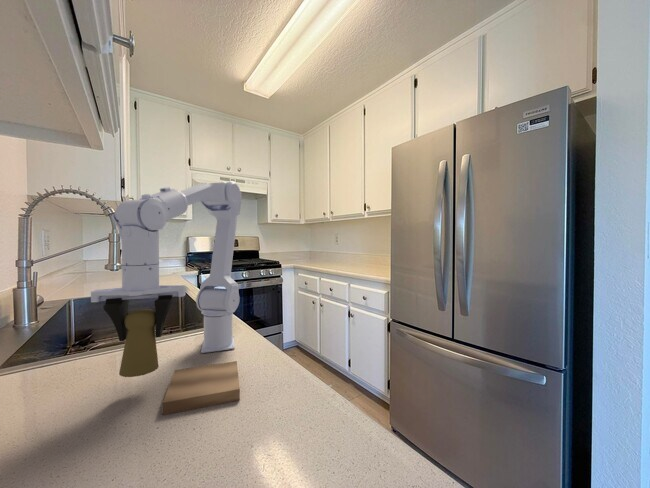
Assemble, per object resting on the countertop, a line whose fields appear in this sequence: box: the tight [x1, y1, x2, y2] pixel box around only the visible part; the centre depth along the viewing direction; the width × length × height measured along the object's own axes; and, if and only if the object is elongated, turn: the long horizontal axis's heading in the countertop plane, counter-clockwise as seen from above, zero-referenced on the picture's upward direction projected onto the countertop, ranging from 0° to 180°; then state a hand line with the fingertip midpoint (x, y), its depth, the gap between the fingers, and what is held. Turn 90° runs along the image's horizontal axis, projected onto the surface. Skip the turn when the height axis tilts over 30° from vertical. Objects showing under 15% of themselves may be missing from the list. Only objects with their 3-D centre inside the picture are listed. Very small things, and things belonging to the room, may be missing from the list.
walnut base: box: [162, 360, 241, 416], centre depth 52 cm, size 12×12×2 cm
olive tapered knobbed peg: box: [118, 308, 160, 378], centre depth 51 cm, size 6×6×11 cm
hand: (141, 337), depth 51 cm, fingers closed on olive tapered knobbed peg, 5 cm apart
